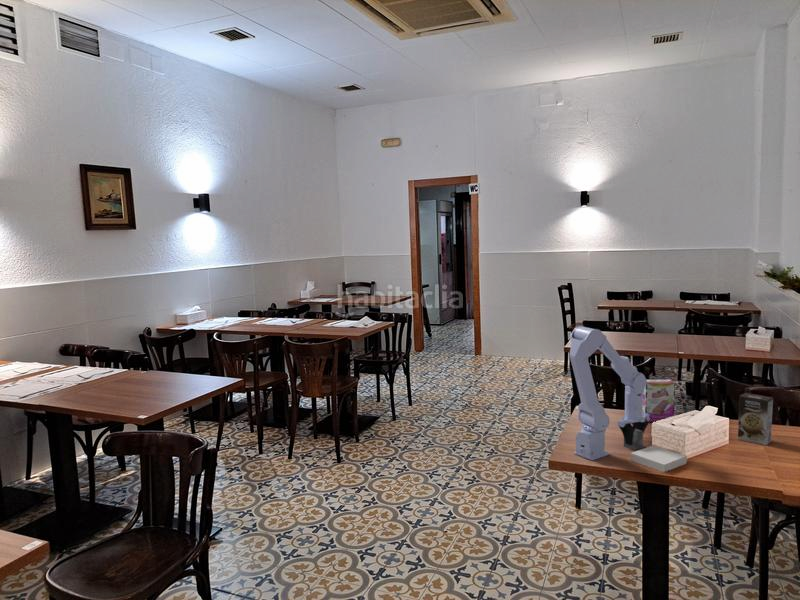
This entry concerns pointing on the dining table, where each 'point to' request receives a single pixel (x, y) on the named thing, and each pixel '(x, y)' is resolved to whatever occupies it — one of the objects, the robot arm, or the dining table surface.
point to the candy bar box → (659, 399)
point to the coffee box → (755, 418)
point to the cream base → (658, 458)
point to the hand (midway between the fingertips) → (633, 442)
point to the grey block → (636, 440)
